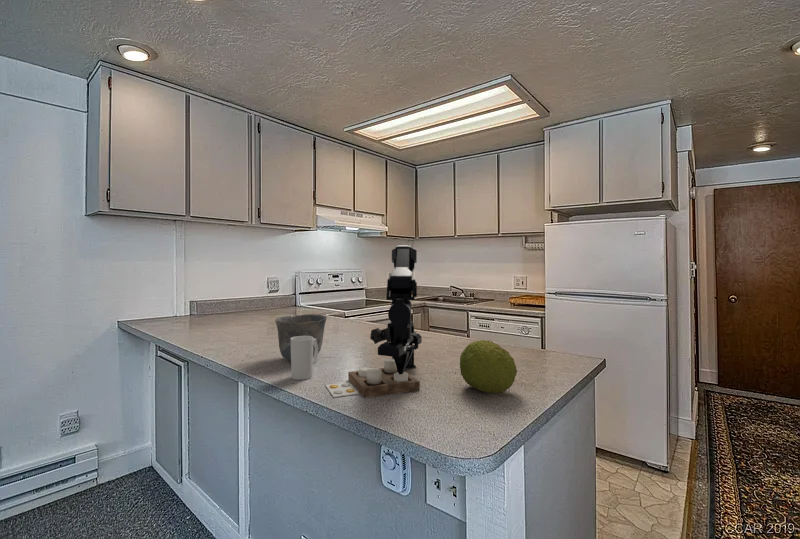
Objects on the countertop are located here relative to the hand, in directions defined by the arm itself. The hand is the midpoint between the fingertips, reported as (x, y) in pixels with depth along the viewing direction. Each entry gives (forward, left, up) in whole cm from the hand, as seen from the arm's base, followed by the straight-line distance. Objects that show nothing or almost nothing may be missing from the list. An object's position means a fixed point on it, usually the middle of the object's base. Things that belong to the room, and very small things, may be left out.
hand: (400, 374), depth 111 cm
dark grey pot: (+21, -41, -4) cm, 46 cm away
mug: (+23, -21, -4) cm, 31 cm away
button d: (+8, 0, -1) cm, 8 cm away
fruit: (-21, +11, -4) cm, 24 cm away
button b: (0, 0, -3) cm, 3 cm away
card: (+16, -4, -4) cm, 17 cm away
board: (+4, -4, -4) cm, 7 cm away
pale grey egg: (0, -8, -1) cm, 8 cm away
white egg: (+8, -8, -3) cm, 12 cm away
